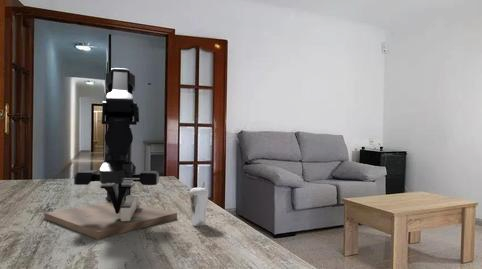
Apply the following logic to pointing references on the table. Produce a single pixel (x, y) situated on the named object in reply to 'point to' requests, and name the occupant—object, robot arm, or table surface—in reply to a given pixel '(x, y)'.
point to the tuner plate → (107, 219)
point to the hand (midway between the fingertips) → (117, 213)
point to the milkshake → (198, 205)
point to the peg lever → (129, 207)
